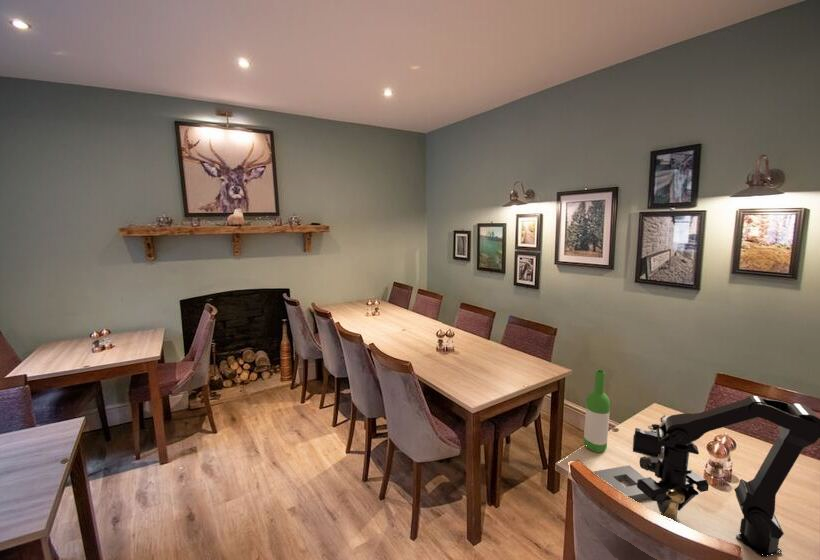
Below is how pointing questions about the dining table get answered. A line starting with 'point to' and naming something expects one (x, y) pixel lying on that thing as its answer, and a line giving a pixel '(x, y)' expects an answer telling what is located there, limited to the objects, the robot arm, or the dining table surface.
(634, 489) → the housing plate
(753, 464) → the dining table surface
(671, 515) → the door knob
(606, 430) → the wine bottle
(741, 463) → the dining table surface
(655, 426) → the robot toy
